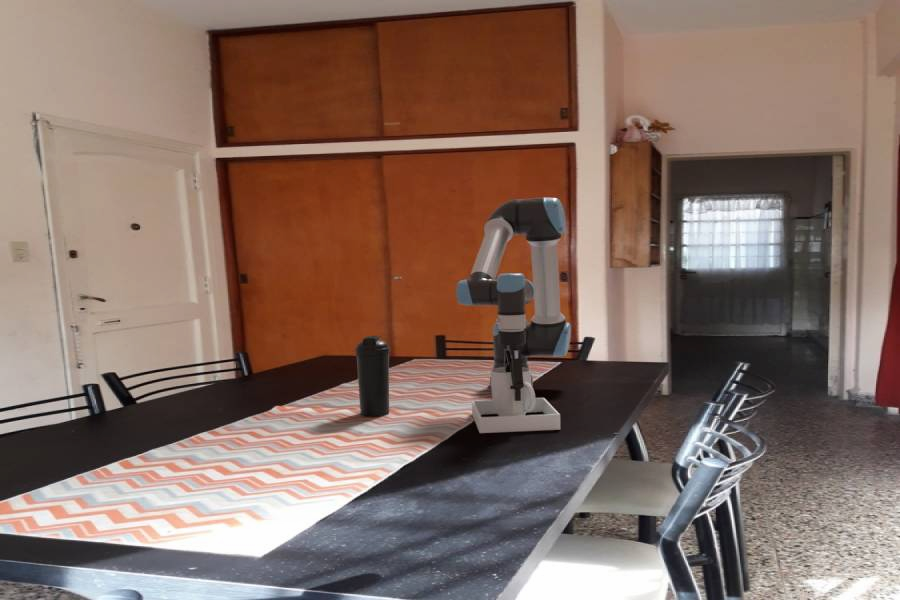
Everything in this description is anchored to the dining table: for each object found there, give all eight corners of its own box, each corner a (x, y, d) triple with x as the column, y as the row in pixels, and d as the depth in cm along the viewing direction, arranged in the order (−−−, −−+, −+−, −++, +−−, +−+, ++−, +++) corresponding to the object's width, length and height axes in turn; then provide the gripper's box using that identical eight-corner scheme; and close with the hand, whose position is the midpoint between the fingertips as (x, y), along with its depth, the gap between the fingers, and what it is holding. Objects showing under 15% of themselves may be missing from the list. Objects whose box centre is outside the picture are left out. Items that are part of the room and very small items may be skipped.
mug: (549, 419, 186) (548, 371, 185) (518, 426, 180) (517, 376, 179) (514, 410, 198) (513, 365, 197) (483, 416, 192) (482, 369, 191)
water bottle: (394, 409, 209) (392, 334, 207) (388, 417, 199) (385, 338, 197) (362, 409, 210) (359, 334, 208) (354, 417, 200) (351, 339, 198)
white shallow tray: (472, 414, 199) (471, 400, 199) (544, 411, 201) (544, 397, 200) (479, 433, 178) (479, 417, 178) (560, 429, 180) (560, 414, 179)
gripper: (492, 325, 200) (494, 398, 201) (504, 335, 175) (506, 418, 177) (518, 324, 200) (519, 397, 202) (533, 334, 176) (535, 416, 177)
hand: (513, 407), depth 189 cm, fingers closed on mug, 13 cm apart
